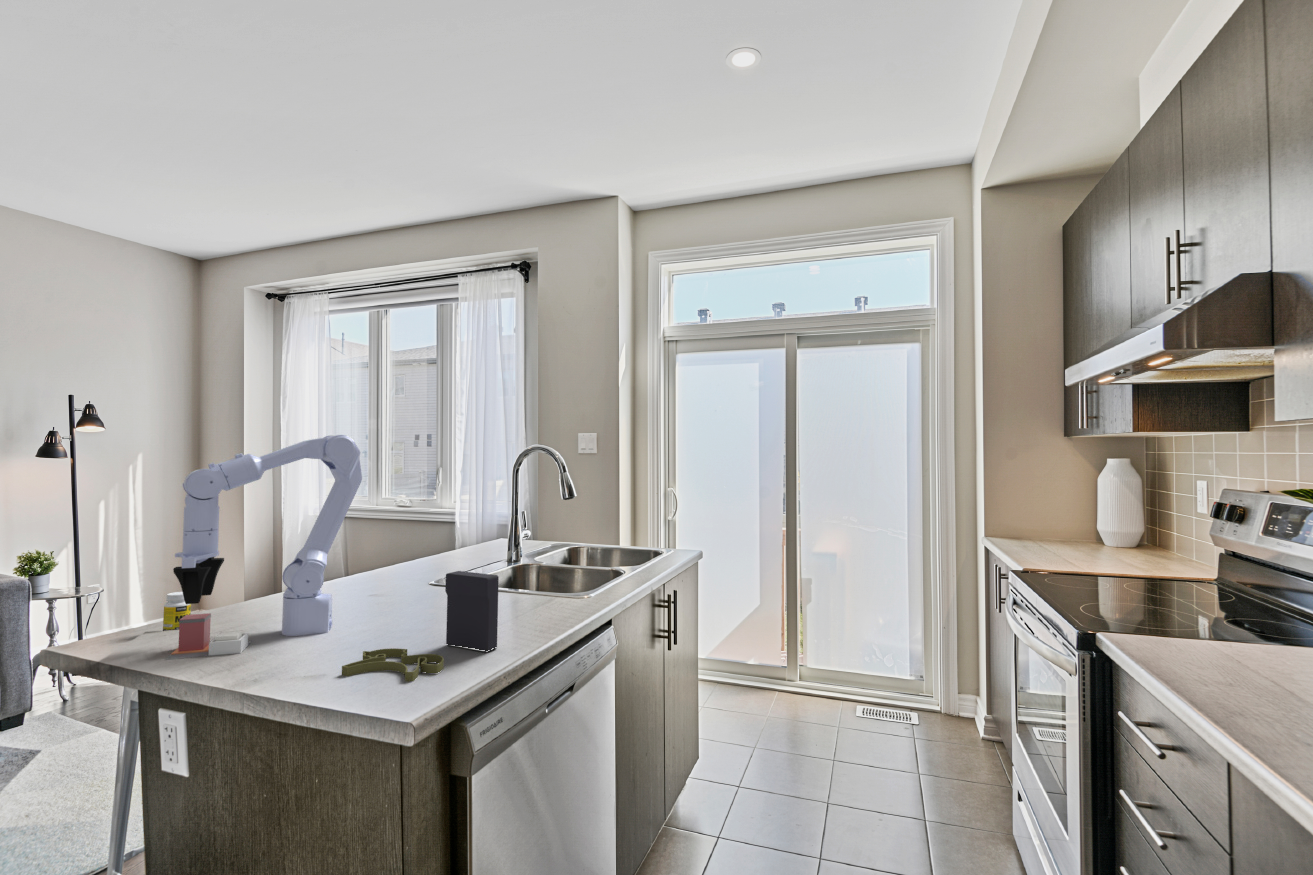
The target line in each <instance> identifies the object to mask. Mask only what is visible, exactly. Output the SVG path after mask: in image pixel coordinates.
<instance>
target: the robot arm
mask: <svg viewBox="0 0 1313 875" xmlns="http://www.w3.org/2000/svg"><path fill="white" fill-rule="evenodd" d="M360 457H361V450H360V449H359V447H358V446H357V444H356V442H355V441H354V439H353V438H352V437H350V436H348V435H346V434H337V435H325V436H324V437H317V438H311V439H308V440H303V441H299V442H297V443H294V444H292V445H288V446H285V447H283V448H280V449H278V450H274V451H272V452H269V453H267V454H263V455H260V456H256V455H254V454H251V453H246V454H243V453H242V452H241V453H238V454H234V458H231V459H228V460H225V461H222V462H219V463H216V464H215V462H212V463H209V464H208V463H207V464H208V468H200V469H196V470H193V471H191V472H189V473H188V475H186V477H185V478H184V481H183V483H182V488H183V490H184V492H185V493H186V494H185V498H184V504H185V506H184V507H183V524H182V527H183V529H182V530H183V531H182V552H176V553H175V554H174V557H175V558H181V566H175V567H174V568H173V569H172V571H173V574H174V575H175V577H176V579H177V581H178V582H179V585H180V587H181V592H183V596H184V600H185V603H186V604H191V605H196V604H199V603H200V602H201V599H202V597H203V596H211V595H212V593H213V591H214V587H215V584H216V579H217V576H218V574H219V571H220V568H221V566H222V565H223V564H224V561H225V557H218V556H219V555H220V551H219V537H220V536H219V534H220V533H219V531H220V530H219V529H220V526H219V525H220V505H219V496H220V494H221V492H222V490H223V491H226V492H227V491H230V490H233V489H236V488H240V487H242V486H244V485H247V484H248V485H249V484H250V483H253V482H257V481H259V480H261V478H262V477H263V475H264V473H265V472H266V471H268V470H271V469H275V468H278V467H281V466H284V465H287V464H291V463H293V462H298V461H300V460H303V459H312V460H321V462H323V463H324V464H325V466H326V467H328V469H329V471H330V472H331V475H332V476H333V478H334V483H333V484H332V487H331V489H330V491H329V493H328V495H327V497H326V499H325V501H324V504H323V505H322V508H321V510H320V512H319V514H318V515H317V518H316V520H315V522H314V525H313V526H312V528H311V530H310V533H309V535H308V537H307V539H306V541H305V543H304V545H303V547H302V548H301V549H300V550H299V551H298V552H297V554H296V555H295V558H294V560H292V562H290V563H289V564H288V565H286V567H285V568H284V569H283V572H282V578H281V579H282V581H283V584H284V585H285V586H286V587H287V588H286V590H285V591H284V592H283V593H282V596H283V597H282V615H281V616H282V617H281V618H282V620H281V622H282V623H281V624H282V625H281V634H282V635H284V636H287V637H290V636H292V637H293V636H294V637H296V636H297V637H298V636H306V635H315V634H326V633H329V631H330V629H332V628H333V594H332V593H324V592H323V593H322V589H321V588H322V587H323V585H324V580H325V577H324V576H325V574H324V573H325V569H326V567H327V565H328V555H329V552H330V549H331V548H332V545H333V544H334V542H335V539H336V537H337V535H338V533H339V530H340V528H341V526H342V525H343V523H344V520H345V518H346V515H347V513H348V511H349V510H350V506H351V505H352V503H353V500H354V498H355V496H356V494H357V492H358V490H359V488H360V487H361V486H360V485H361V483H362V480H363V474H362V468H361V467H362V466H361V460H360V459H361V458H360Z"/></svg>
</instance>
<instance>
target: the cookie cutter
mask: <svg viewBox="0 0 1313 875" xmlns="http://www.w3.org/2000/svg"><path fill="white" fill-rule="evenodd" d="M400 657H401V658H400ZM386 658H400V662H398V661H392V660H391V661H390V660H386ZM427 662H436V663H439V664H435V663H427ZM444 662H445V660H444V657H443V656H442V655H441V654H436V653H423V654H421V653H420V654H411V655H410V654H409V655H408V649H406V648H398V647H397V648H394V647H393V648H380V649H374V650H370V651H369V650H363V651H362V660H358V661H355V662H350V663H347V664H344V665H341V676H344V677H352V676H355V675H359V674H365V673H369V672H381V671H382V672H383V671H384V670H385V671H386V670H391V671H390V672H397V671H399V672H398V673H400V672H402V673H404V674H405V675H404V674H403V675H404V682H410V681H413V682H414V681H416V680H417V679H418V677H419V675H420V673H422V672H426V673H425V674H427V673H438V672H440V671H441V670H442V669H443V670H444V668H443V667H444V666H445V665H444ZM414 663H418V664H416V667H415V669H414V670H413V671H409V670H408V669H409V668H408V665H405V664H409V665H415V664H414ZM419 666H420V667H419ZM443 670H442V671H443ZM442 671H441V672H442ZM441 672H440V673H441ZM402 673H401V674H402ZM418 674H419V675H418ZM416 678H417V679H416ZM415 679H416V680H415Z"/></svg>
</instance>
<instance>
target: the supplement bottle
mask: <svg viewBox="0 0 1313 875" xmlns="http://www.w3.org/2000/svg"><path fill="white" fill-rule="evenodd" d="M191 610H192V604H186V603H185V600H184V596H183V592H182V591H174V592H170V593H167V594H166V602H165V603H164V605H163V621H162V631H163V632H167V631H179V620H180V619H181V618H183V617H184V616H186V615H192V613H191Z"/></svg>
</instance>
